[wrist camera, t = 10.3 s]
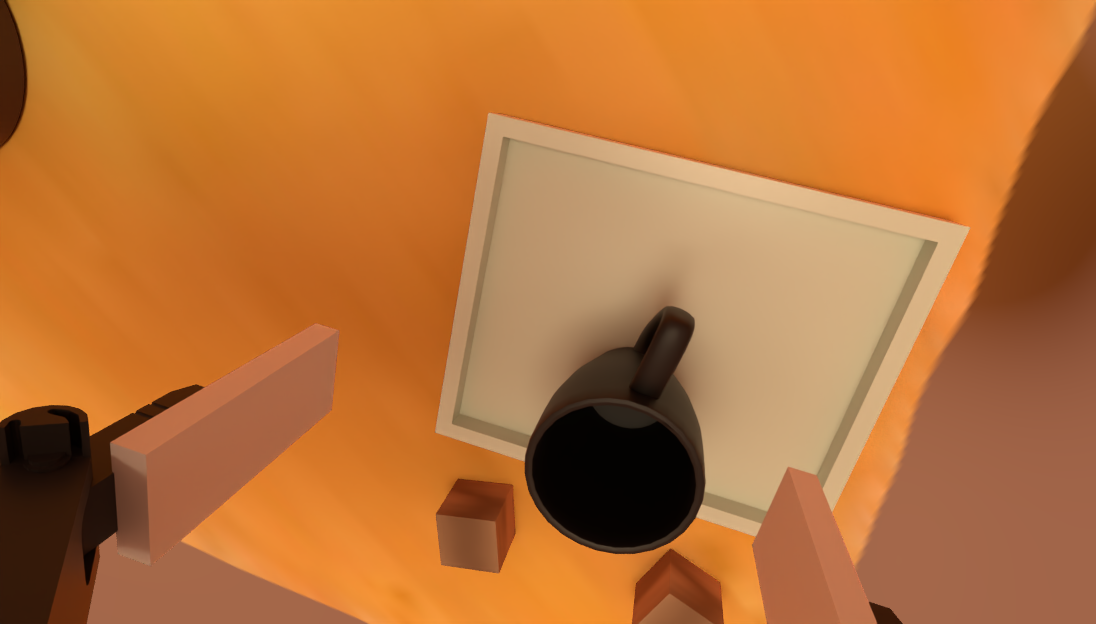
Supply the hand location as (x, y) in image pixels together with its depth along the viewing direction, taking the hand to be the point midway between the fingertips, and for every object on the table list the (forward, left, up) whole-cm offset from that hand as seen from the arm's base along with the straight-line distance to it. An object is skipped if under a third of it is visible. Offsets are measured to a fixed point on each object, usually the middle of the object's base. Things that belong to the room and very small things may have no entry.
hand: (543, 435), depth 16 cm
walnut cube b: (+9, -20, -19) cm, 29 cm away
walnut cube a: (-5, -19, -18) cm, 27 cm away
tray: (+3, -3, -18) cm, 19 cm away
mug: (+3, -5, -18) cm, 19 cm away
